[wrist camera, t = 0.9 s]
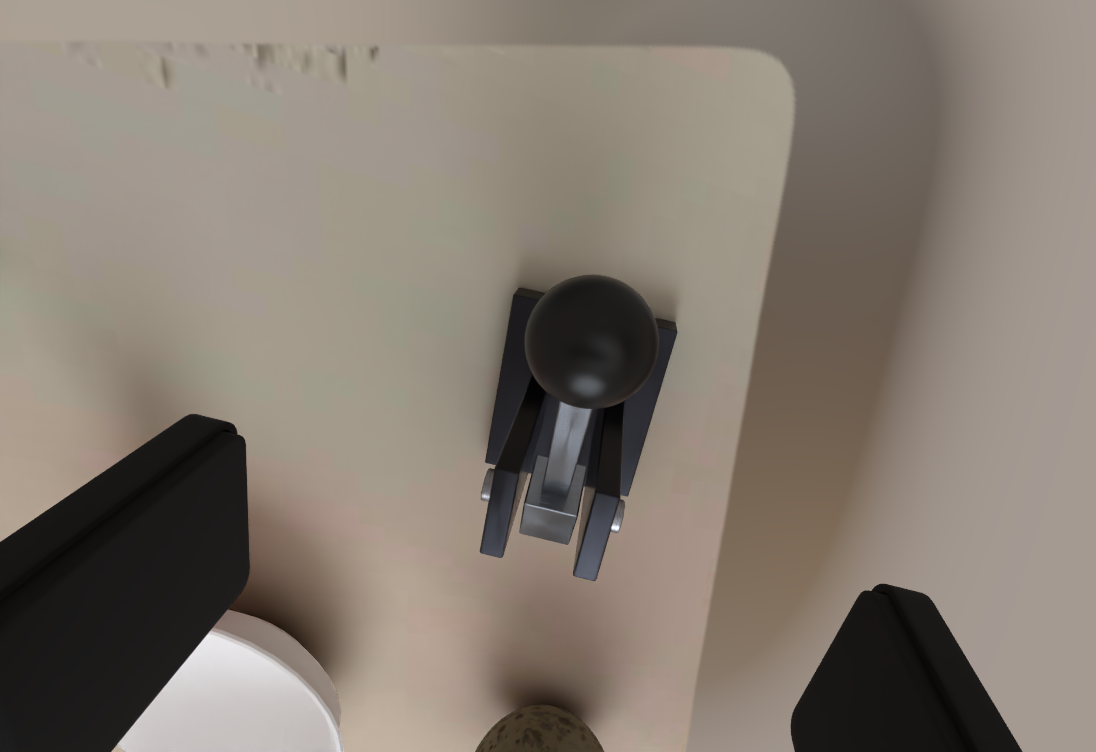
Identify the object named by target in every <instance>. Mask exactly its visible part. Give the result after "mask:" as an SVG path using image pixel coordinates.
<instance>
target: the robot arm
mask: <svg viewBox="0 0 1096 752" xmlns="http://www.w3.org/2000/svg"><path fill="white" fill-rule="evenodd" d="M249 570H250V563H249V532H248V500H247V468H246V444H245V439H244V438H243V437H242V436H241V435H237V429H236V428H235V426H234V425H233V424H232V423H230V422H226V421H222V420H218V419H214V418H210V417H205V416H201V415H197V414H190V415H188V416H186V417H184V418H182V419H181V420H179V421H178V422H176V423H175V424H173V425H172V426H170V427H169V428H168V429H166V430H165V431H163V432H162V433H160V434H159V435H157V436H156V437H154V438H153V439H151V440H150V441H148V442H147V443H145V444H144V445H142V446H141V447H140V448H138V449H137V450H135V451H134V452H132V453H131V454H129V455H128V456H126V457H125V458H123V459H122V460H120V461H119V462H117V463H116V464H115V465H113V466H112V467H110V468H109V469H107V470H106V471H104V472H103V473H101V474H100V475H98V476H97V477H95V478H94V479H92V480H91V481H89V482H88V483H87V484H85V485H84V486H82V487H81V488H79V489H78V490H76V491H75V492H73V493H72V494H70V495H69V496H67V497H66V498H64V499H63V500H62V501H60V502H59V503H57V504H56V505H54V506H53V507H51V508H50V509H48V510H47V511H45V512H44V513H42V514H41V515H39V516H38V517H36V518H35V519H34V520H32V521H31V522H29V523H28V524H26V525H25V526H23V527H22V528H20V529H19V530H17V531H16V532H14V533H13V534H11V535H10V536H9V537H7V538H6V539H4V540H3V541H1V542H0V752H111V751H112V750H113V749H114V748H115V746H116V745H117V744H118V743H119V742H120V740H121V739H122V738H123V737H124V736H125V734H126V733H127V732H128V731H129V729H130V728H131V727H132V726H133V725H134V723H135V722H136V721H137V720H138V718H139V717H140V716H141V715H142V714H143V712H144V711H145V710H146V709H147V707H148V706H149V705H150V704H151V703H152V701H153V700H154V699H155V698H156V696H157V695H158V694H159V693H160V692H161V690H162V689H163V688H164V687H165V685H166V684H167V683H168V682H169V681H170V679H171V678H172V677H173V676H174V675H175V673H176V672H177V671H178V670H179V668H180V667H181V666H182V665H183V664H184V662H185V661H186V660H187V659H188V657H189V656H190V655H191V654H192V653H193V651H194V650H195V649H196V648H197V646H198V645H199V644H200V643H201V642H202V640H203V639H204V638H205V637H206V635H207V634H208V633H209V632H210V631H211V629H212V628H213V627H214V626H215V624H216V623H217V622H218V621H219V620H220V618H221V617H222V616H223V615H224V614H225V612H226V611H227V610H228V609H229V607H230V606H231V605H232V604H233V603H234V601H235V600H236V599H237V598H238V596H239V595H240V594H241V592H242V591H243V589H244V587H245V585H246V582H247V580H248V576H249ZM791 736H792V741H793V746H794V750H795V752H1022V750H1021V749H1020V747H1019V745H1018V743H1017V742H1016V740H1015V739H1014V737H1013V735H1012V734H1011V732H1010V730H1009V729H1008V727H1007V725H1006V724H1005V722H1004V720H1003V719H1002V717H1001V715H1000V713H999V712H998V710H997V708H996V707H995V705H994V703H993V702H992V700H991V698H990V697H989V695H988V693H987V692H986V690H985V688H984V687H983V685H982V683H981V682H980V680H979V678H978V677H977V675H976V673H975V672H974V670H973V668H972V667H971V665H970V663H969V661H968V660H967V658H966V656H965V655H964V653H963V651H962V650H961V648H960V647H959V645H958V643H957V642H956V640H955V638H954V636H953V635H952V633H951V632H950V630H949V628H948V626H947V625H946V623H945V621H944V620H943V618H942V616H941V615H940V613H939V611H938V610H937V608H936V606H935V605H934V603H933V602H932V600H931V599H930V598H929V597H928V596H927V595H925V594H923V593H920V592H916V591H912V590H908V589H904V588H900V587H895V586H892V585H888V584H879V585H877V586H875V587H874V588H873V589H872V591H863V592H862V593H861V594H860V595H859V597H858V598H857V600H856V601H855V603H854V605H853V607H852V608H851V610H850V612H849V614H848V616H847V617H846V619H845V621H844V622H843V624H842V626H841V628H840V630H839V631H838V633H837V635H836V637H835V639H834V640H833V642H832V644H831V645H830V647H829V649H828V651H827V653H826V654H825V656H824V658H823V659H822V662H821V663H820V665H819V667H818V668H817V670H816V672H815V674H814V676H813V677H812V679H811V681H810V682H809V684H808V686H807V688H806V689H805V691H804V693H803V695H802V696H801V698H800V700H799V702H798V704H797V705H796V707H795V709H794V712H793V714H792V719H791Z"/></svg>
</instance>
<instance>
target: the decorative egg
mask: <svg viewBox="0 0 1096 752" xmlns="http://www.w3.org/2000/svg"><path fill="white" fill-rule="evenodd" d="M475 752H604V751H603V748H602V746H601V745H600V743H599V741H598V739H597V738H596V736H595V735H594V734H593V732H592V731H591V730H590V728H589V727H588V726H587V725H586V724H585V723H584V722H583V721H582V720H580V719H579V718H578V717H576V716H575V715H574V714H572V713H570V712H569V711H566V710H564V709H562V708H559V707H556V706H552V705H531V706H527V707H523V708H521V709H518V710H516V711H514V712H512V713H510V714H508V715H507V716H505V717H504V718H503V719H501V720H500V721H499V722H498V723H497V724H495V725H494V726H493V727H492V728H491V730H490V731H489V732H488V733H487V734H486V736H485V737H484V738H483V740H482V741H481V743H480V744H479V746H478V747H477V749H476V751H475Z"/></svg>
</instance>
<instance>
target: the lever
mask: <svg viewBox="0 0 1096 752" xmlns="http://www.w3.org/2000/svg"><path fill="white" fill-rule="evenodd" d="M658 349H659V334H658V328H657V324H656V320H655V318H654V315H653V313H652V311H651V309H650V307H649V306H648V305H647V303H646V302H645V300H644V299H643V298H642V297H641V296H640V294H638V293H637V292H636V291H635V290H634V289H633V288H631V287H630V286H628V285H627V284H625V283H623V282H621V281H619V280H617V279H614V278H611V277H607V276H601V275H583V276H577V277H574V278H570V279H568V280H565V281H563V282H561V283H559V284H557V285H556V286H554V287H553V288H551V289H550V290H549V291H548V292H547V293H546V294H545V295H544V296H543V297H542V298H541V299H540V300H539V301H538V303H537V304H536V306H535V307H534V309H533V311H532V313H531V315H530V317H529V320H528V323H527V327H526V332H525V352H526V358H527V361H528V364H529V367H530V370H531V372H532V374H533V375H534V377H535V379H536V380H537V382H538V383H539V384H540V385H541V386H542V388H543V389H544V390H545V391H546V392H547V393H549V394H550V395H551V396H552V397H554V398H555V399H557V400H559V401H560V403H559V408H558V413H557V417H556V422H555V427H554V432H553V437H552V441H551V446H550V451H549V456H548V457H545V456H541V455H537V456H536V459H535V463H534V467H533V471H532V475H531V478H530V482H529V486H528V490H527V494H526V498H525V502H524V507H523V513H522V519H521V525H520V531H519V532H520V533H521V534H525V535H529V536H533V537H537V538H541V539H545V540H549V541H553V542H557V543H562V544H566V545H568V544H569V541H570V538H571V535H572V532H573V529H574V526H575V523H576V520H577V517H578V512H579V507H580V502H581V497H582V491H583V486H584V481H585V476H586V470H587V467H586V466H583V465H579V464H577V462H578V458H579V455H580V451H581V448H582V444H583V441H584V437H585V434H586V430H587V427H588V423H589V420H590V416H591V412H592V409H600V408H606V407H610V406H613V405H616V404H618V403H621V402H623V401H624V400H626V399H628V398H629V397H630V396H632V395H633V394H635V393H636V392H637V391H638V390H639V389H640V388H641V387H642V386H643V385H644V383H645V382H646V381H647V379H648V378H649V376H650V374H651V372H652V370H653V368H654V366H655V363H656V359H657V355H658Z"/></svg>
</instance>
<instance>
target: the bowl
mask: <svg viewBox="0 0 1096 752" xmlns="http://www.w3.org/2000/svg"><path fill="white" fill-rule="evenodd" d="M340 714H341V709H340V704H339V698H338V694H337V692H336V690H335V688H334V686H333V683H332V681H331V679H330V678H329V676H328V675H327V673H326V672H325V671H324V669H323V668H322V666H321V665H320V664H319V662H318V661H317V660H316V659H315V658H314V657H313V656H312V655H311V654H310V653H309V652H308V651H307V650H306V649H305V648H304V647H303V646H302V645H301V644H300V643H299V642H298V641H297V640H296V639H294V638H293V637H292V636H290V635H289V634H288V633H286V632H285V631H283V630H282V629H280V628H278V627H277V626H275V625H273V624H271V623H269V622H267V621H264V620H262V619H259V618H257V617H253V616H250V615H246V614H243V613H239V612H236V611H232V610H227V611H226V612H225V614H224V615H223V616H222V617H221V618H220V620H219V621H218V622H217V623H216V624H215V626H214V627H213V628H212V629H211V631H210V632H209V633H208V634H207V635H206V637H205V638H204V639H203V640H202V642H201V643H200V644H199V645H198V646H197V648H196V649H195V650H194V651H193V653H192V654H191V655H190V656H189V657H188V659H187V660H186V661H185V662H184V664H183V665H182V666H181V667H180V668H179V670H178V671H177V672H176V673H175V675H174V676H173V677H172V678H171V679H170V681H169V682H168V683H167V684H166V685H165V687H164V688H163V689H162V690H161V692H160V693H159V694H158V695H157V696H156V698H155V699H154V700H153V701H152V703H151V704H150V705H149V706H148V707H147V709H146V710H145V711H144V712H143V714H142V715H141V716H140V717H139V718H138V720H137V721H136V722H135V723H134V725H133V726H132V727H131V728H130V729H129V731H128V732H127V733H126V734H125V736H124V737H123V738H122V739H121V740H120V742H119V743H118V745H119V746H120V748H121V749H122V750H123V751H125V752H343V750H344V748H343V743H342V739H341V734H340V730H339V726H340Z"/></svg>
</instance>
